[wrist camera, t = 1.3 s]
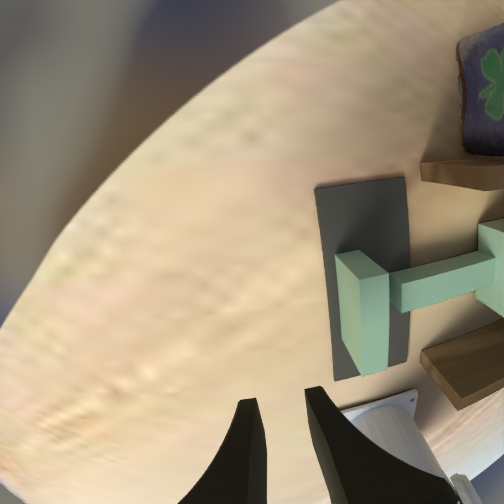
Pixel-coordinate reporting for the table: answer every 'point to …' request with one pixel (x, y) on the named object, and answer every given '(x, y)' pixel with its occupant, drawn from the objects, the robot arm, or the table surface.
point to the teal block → (412, 292)
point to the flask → (482, 92)
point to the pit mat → (365, 252)
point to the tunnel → (481, 340)
